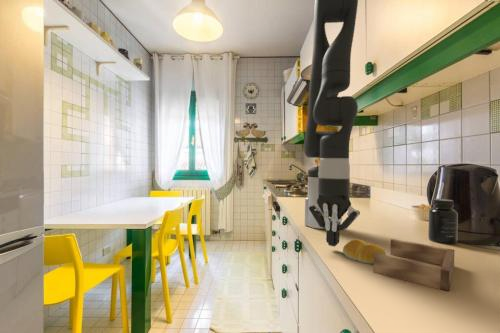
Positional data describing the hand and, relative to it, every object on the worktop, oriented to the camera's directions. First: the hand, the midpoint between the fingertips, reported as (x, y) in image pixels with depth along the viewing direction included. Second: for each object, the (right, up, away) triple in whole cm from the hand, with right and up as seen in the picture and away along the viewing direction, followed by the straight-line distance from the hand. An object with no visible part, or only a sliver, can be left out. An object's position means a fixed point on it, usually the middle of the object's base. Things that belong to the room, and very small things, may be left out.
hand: (332, 245), depth 66 cm
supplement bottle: (+35, -2, +10) cm, 36 cm away
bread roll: (+6, -2, -5) cm, 8 cm away
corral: (+13, -2, -11) cm, 17 cm away
